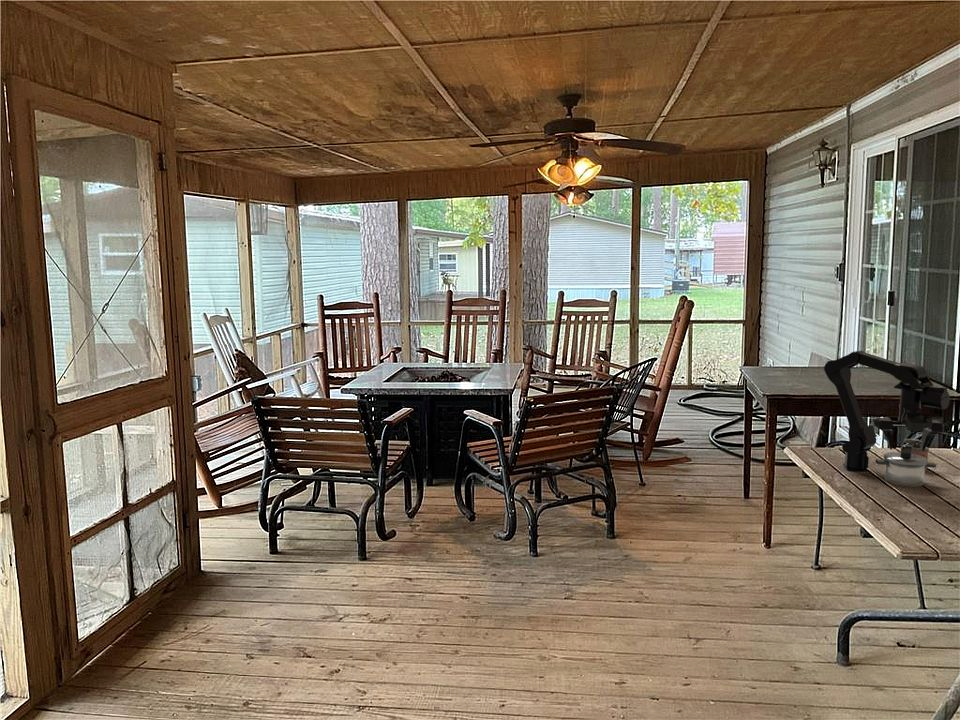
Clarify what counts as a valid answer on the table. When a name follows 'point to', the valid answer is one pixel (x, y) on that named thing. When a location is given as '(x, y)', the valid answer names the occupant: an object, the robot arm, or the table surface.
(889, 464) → the pot
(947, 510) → the table surface
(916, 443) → the lighter
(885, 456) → the lid
